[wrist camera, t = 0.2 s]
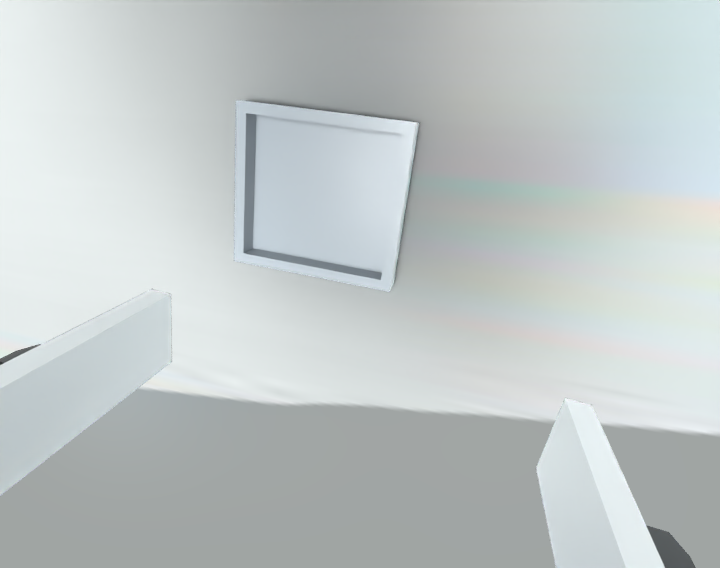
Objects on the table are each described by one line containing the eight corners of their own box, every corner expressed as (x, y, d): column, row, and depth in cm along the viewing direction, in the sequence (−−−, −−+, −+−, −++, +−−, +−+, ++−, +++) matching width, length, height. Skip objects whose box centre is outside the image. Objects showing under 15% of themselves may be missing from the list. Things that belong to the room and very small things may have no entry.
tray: (249, 101, 40) (235, 99, 37) (419, 122, 37) (416, 122, 35) (245, 254, 45) (234, 261, 43) (394, 283, 42) (389, 291, 40)
